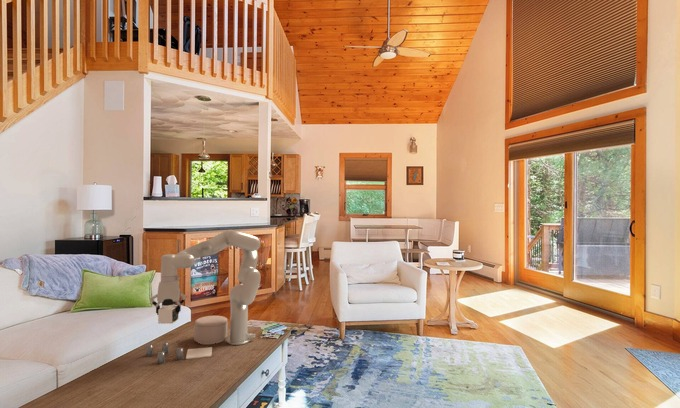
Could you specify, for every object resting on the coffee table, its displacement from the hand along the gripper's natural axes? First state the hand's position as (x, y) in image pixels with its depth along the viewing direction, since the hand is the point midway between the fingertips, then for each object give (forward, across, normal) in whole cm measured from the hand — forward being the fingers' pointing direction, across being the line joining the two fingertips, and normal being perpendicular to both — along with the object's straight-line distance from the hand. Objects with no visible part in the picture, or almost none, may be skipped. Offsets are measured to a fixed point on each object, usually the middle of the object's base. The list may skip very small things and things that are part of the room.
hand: (168, 313), depth 182 cm
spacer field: (+22, +2, 0) cm, 22 cm away
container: (+22, -20, -21) cm, 36 cm away
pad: (+22, -15, -1) cm, 26 cm away
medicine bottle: (+4, 0, 0) cm, 4 cm away
